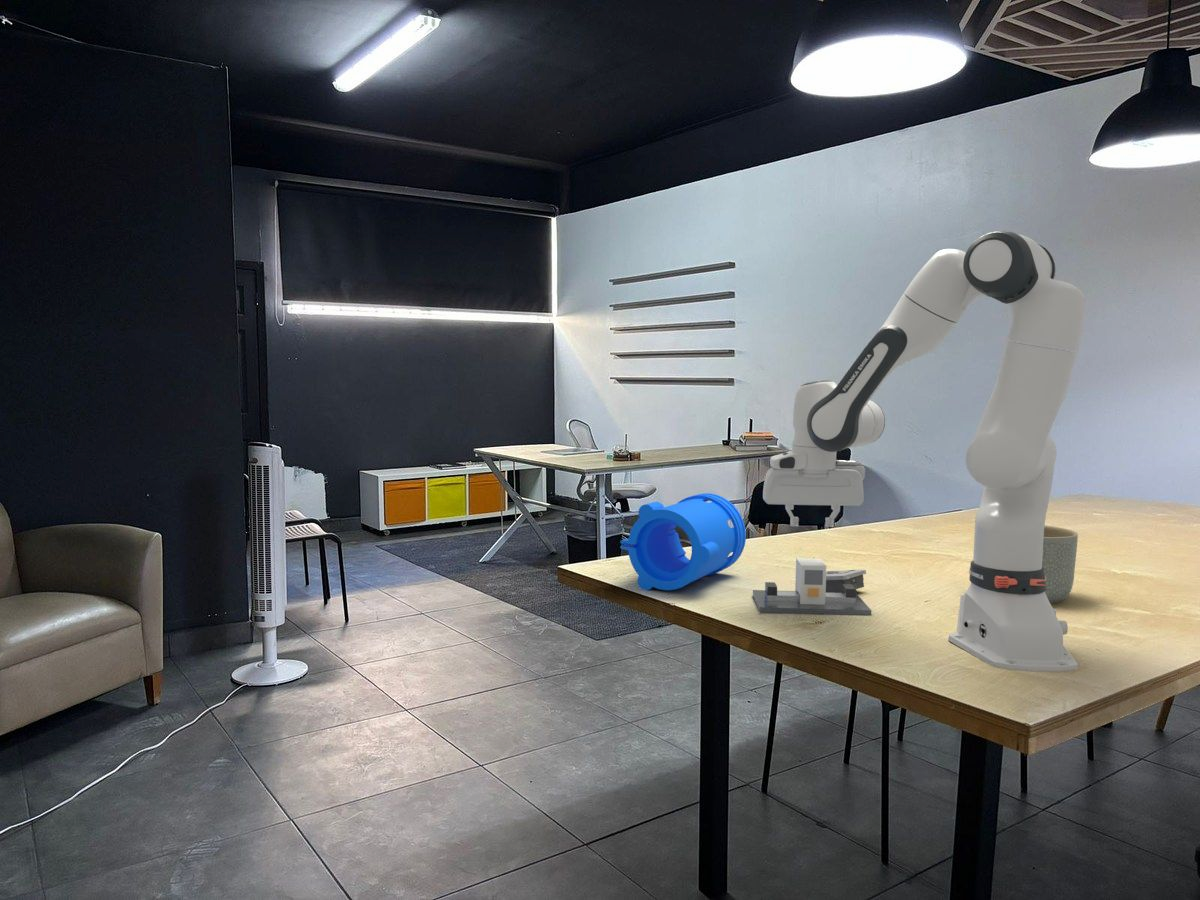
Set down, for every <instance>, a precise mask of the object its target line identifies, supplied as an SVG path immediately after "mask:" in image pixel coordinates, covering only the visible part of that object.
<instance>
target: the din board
mask: <svg viewBox="0 0 1200 900" xmlns="http://www.w3.org/2000/svg"><path fill="white" fill-rule="evenodd" d="M764 584H765V585H764V587H765V588H764V590H763V589H752V597H753V600H754V602H755V605H756V607H757V609H758V611H759V612H760V613H759V612H758V613H759V614H780V615H781V614H786V615H787V614H791V615H835V616H836V615H838V616H839V615H841V616H842V615H843V616H872V610H871V608H870V607H869V606H868V605H867V603H865V601H864V600H863V599H862V598H861V597H860V596H859V594H857V589H856V588H855V587H854V586H853V585H852V584H842V592H826V595H825V605H823V604H800V594H799V593H798V592H795V590H778V586H777V584H776V582H773V581H772V582H771V581H769V582H768V581H767V582H766V581H765V582H764Z"/></svg>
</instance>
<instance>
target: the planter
mask: <svg viewBox="0 0 1200 900" xmlns="http://www.w3.org/2000/svg"><path fill="white" fill-rule="evenodd" d="M1078 536H1079V535H1078V532H1076V531H1074V530H1072V529H1068V528H1064V527H1060V526H1059V527H1058V526H1053V525H1045V526H1044V540H1043V557H1042V567H1043V568H1044V572H1045V576H1046V588H1047V590H1046V591H1045V593H1046V596H1047V598H1048V600H1049V602H1050V604H1051V603H1053V604H1057V602H1058V603H1060V602H1061V601H1063V600H1064V599H1066V598H1067V597H1068V596H1069V595H1070V593H1071V592H1072V589H1073V586H1074V580H1075V573H1076V571H1075V569H1076V561H1077V550H1078V548H1077V547H1078V539H1079V537H1078ZM1051 605H1052V604H1051Z"/></svg>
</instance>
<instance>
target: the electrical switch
mask: <svg viewBox="0 0 1200 900" xmlns="http://www.w3.org/2000/svg"><path fill="white" fill-rule="evenodd" d="M866 574H867V570H866V569H847V570H843V569H842V570H826V592H842V584H852V585H853V586H854V587H855V588H856V590H858V589H861V588H865V583H864V575H866Z"/></svg>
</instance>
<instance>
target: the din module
mask: <svg viewBox="0 0 1200 900" xmlns="http://www.w3.org/2000/svg"><path fill="white" fill-rule="evenodd" d="M826 572H827V565H826V563H825V562H824V561H823V560H822V559H821V558H809V557H808V558H805V557H804V558H802V557H799V558H798V557H796V558H795V583H794V585H795V590H794V591H795V592H798V593H799V594H800V604H823V605H825V595H826Z"/></svg>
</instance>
